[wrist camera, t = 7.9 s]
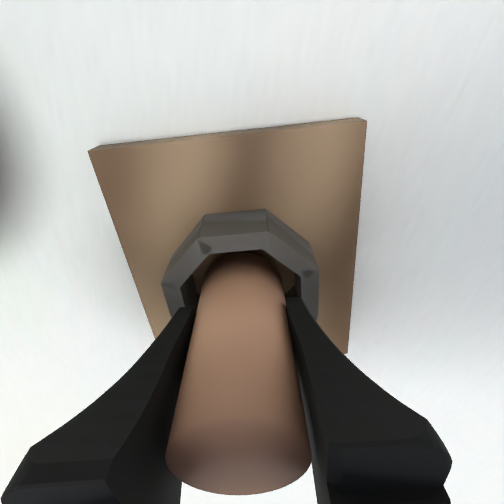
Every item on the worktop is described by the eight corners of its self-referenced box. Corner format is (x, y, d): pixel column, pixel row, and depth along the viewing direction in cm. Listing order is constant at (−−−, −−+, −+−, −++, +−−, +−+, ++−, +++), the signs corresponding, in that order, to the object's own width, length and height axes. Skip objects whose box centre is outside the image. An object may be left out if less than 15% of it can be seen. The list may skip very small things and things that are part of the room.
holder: (357, 117, 14) (391, 129, 10) (342, 339, 21) (359, 387, 17) (99, 145, 14) (55, 165, 11) (169, 353, 21) (155, 402, 18)
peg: (290, 258, 14) (330, 425, 7) (273, 320, 16) (293, 498, 9) (206, 247, 14) (166, 411, 7) (200, 312, 16) (164, 491, 9)
